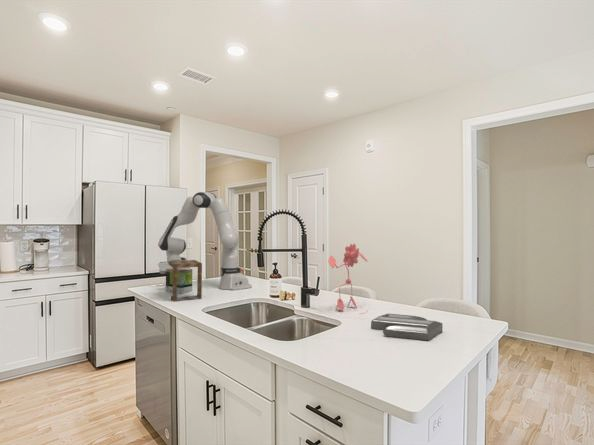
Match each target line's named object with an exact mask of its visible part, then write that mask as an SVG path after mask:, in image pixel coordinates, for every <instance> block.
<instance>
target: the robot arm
mask: <svg viewBox="0 0 594 445" xmlns="http://www.w3.org/2000/svg"><path fill="white" fill-rule="evenodd" d="M228 207H229V206H228V205H227V202H226V201H225V199H224V198H223V197H219V196H218V197H217V195H216V194H215V193H213V192H207V191H201V192H200V191H199V192H197V193H195V194H194V195H193V196H189V197H187V198H186V199H185V201H184V203H183V205H182V207H181V210H180V212H179V213H178V214H177V215H175V216H172V217H173V218H172V219H171V221H170V222H169V223H168V226H167V227H166V229H165V231H164V232H163V234H162V235H161V237H160V238H159V241H158V244H157V246H158V248H159V249H160V250H161V251H165V252H166V254H165V255H166V261H160V262H158V264H157V265H158V267H159V274H161V275H166V269H171V268H173V267H171V266H170V265H169V264H168V261H183V260H188V258H187V257H182V256H180V255H181V254H183V253H184V252H185V250H186V249H187V243H186V241H185V239H183V238H179V237H172V234H173V233H174V231H175V230H176V228H179V227H180V226H184V225H190V224H192V223H194V222H195V220H196V218H197V215H198V213H199V210H200V209H210V210H211V212H212V215H213V218H214V221H215V224H216V227H217V233H218V235H219V240H220V243H221V245H222V253H221V267H220V282H219V286H218V289H219V290H220V289H221V290H230V291H236V290H237V291H238V290H244V289H251V288H252V287H253V286H252V284H249V279H248V277H247V276H246V275H245V274H244V273H242V271H243V270H244V269H243V267H239V247H240V244H239V243H240V237H239V235H238V233H237V232H236V230H235V227H234V223H233V222H234V221H233V219H232V216H231V213H230V211H229V210H230V209H229V208H228ZM186 269H191V267H186Z"/></svg>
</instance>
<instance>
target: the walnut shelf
mask: <svg viewBox="0 0 594 445" xmlns="http://www.w3.org/2000/svg"><path fill="white" fill-rule="evenodd" d="M168 264H169V265H170V266H171V267H173V292H171V294H172V295H170V300H171V301H172V303H173V302H181V301H192V300H194V301H195V300H201V299H202V292H203V291H202V290H203V289H202V287H203V282H202V280H203V277H202V275H203V263H202V262H200V261H198V260H196V259H189V260H188V259H187V260H183V261H168ZM186 267H190V268H197V282H196V283H197V284H196V285H197V287H196V288H197V289H196V291H197V292H196V295H187V296H178V295H177V294H178V293H177V268H186Z"/></svg>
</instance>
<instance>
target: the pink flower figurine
mask: <svg viewBox="0 0 594 445" xmlns="http://www.w3.org/2000/svg"><path fill="white" fill-rule="evenodd" d="M344 249H345V252H344V254H343V256H344V257H343V260H342V262H343V264H341V265H339V266H337V262H336V259H335V256H332V255H330V256H329V258H328V264H329V265H330V267H331V268H332V269H334V268H335V267H336V269H338V268H340V267H342V266H345V268H346V270H347V277H348V278H347V279H346V280H345V283H344V284H342V285H340V286H339V287H338V289H339V290H338V291H339V296H341V288H342V287H343V286H345V285H351V286H350V287H351V288H350V290H351V294H353V285H352V280H351V279H350V271H349V267H351V268H353V267H354V264H358V262H359V260H358V258H359V256H360V258H362V259H363V260H364V261H365V262H369V261H368V260H367V259H366V257H365V256H364V255H363V254H362V253H361V252H360V248H359V247H357V245H356V243H353V244H352V243H350V244H349V246H348V245H346V246H345V247H344ZM349 298H350V299H349V302H348V303H347V305H346V306H347V307H348V308H349V306H350V304H351V302H352V304H353V306H354V307H355V308H358V306H357V303H356V300H354V298H353V296H352V295H351V296H349ZM344 308H345V304H344V301H343V300H342V299H341V298H338V299H337V305H336V307H335V310H337V309H339V310H340V311H341V312H343V311H344ZM327 311H329V309H327ZM365 313H367V311H365V312H362V313H360V315H361V314H362V315H363V314H365Z"/></svg>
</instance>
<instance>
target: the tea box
mask: <svg viewBox="0 0 594 445" xmlns="http://www.w3.org/2000/svg"><path fill="white" fill-rule="evenodd" d="M165 291H167V292H170V293H173V268H171V269H166V274H165ZM192 291H193V268H190V269H186V268H177V294H184V293H189V292H192Z"/></svg>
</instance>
